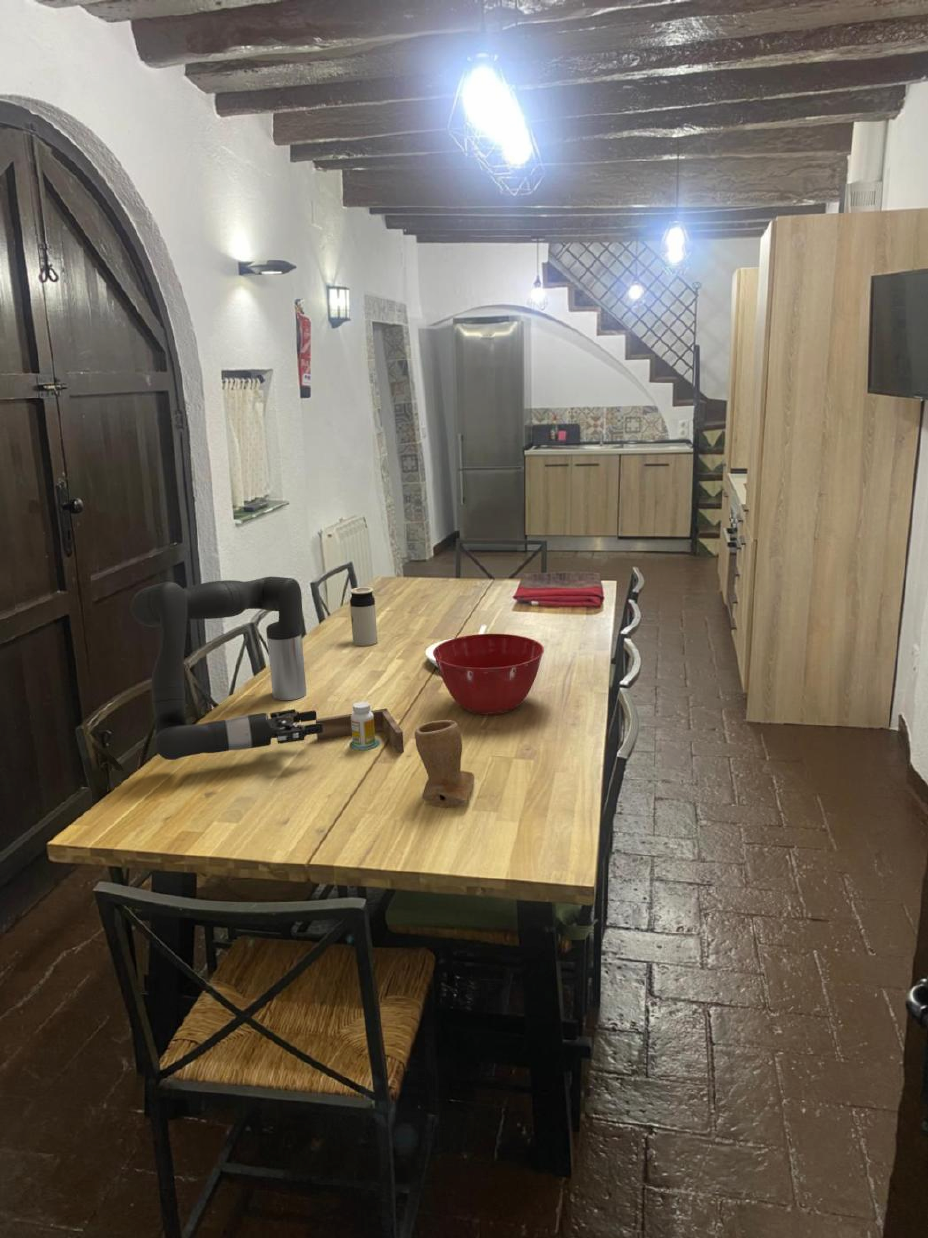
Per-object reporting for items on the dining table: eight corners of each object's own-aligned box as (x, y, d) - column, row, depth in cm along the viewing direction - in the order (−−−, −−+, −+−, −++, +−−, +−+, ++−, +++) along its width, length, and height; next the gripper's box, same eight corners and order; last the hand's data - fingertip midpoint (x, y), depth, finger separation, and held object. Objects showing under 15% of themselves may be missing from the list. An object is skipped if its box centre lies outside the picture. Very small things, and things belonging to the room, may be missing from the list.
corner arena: (317, 738, 217) (315, 719, 215) (387, 727, 222) (386, 708, 220) (328, 764, 202) (327, 743, 201) (403, 751, 207) (402, 731, 206)
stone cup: (424, 776, 194) (421, 711, 190) (479, 778, 192) (476, 713, 188) (408, 809, 180) (403, 739, 176) (466, 812, 178) (463, 742, 174)
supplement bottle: (376, 738, 215) (373, 700, 212) (374, 747, 210) (372, 708, 207) (353, 739, 215) (350, 701, 212) (351, 748, 209) (348, 709, 207)
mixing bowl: (537, 728, 218) (536, 668, 214) (424, 723, 223) (420, 664, 219) (550, 688, 244) (549, 634, 240) (448, 685, 250) (446, 632, 246)
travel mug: (379, 639, 296) (376, 586, 291) (374, 646, 289) (371, 592, 284) (356, 639, 297) (352, 586, 292) (350, 646, 289) (346, 592, 285)
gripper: (249, 727, 195) (323, 716, 200) (243, 706, 208) (312, 696, 213) (252, 759, 197) (325, 747, 202) (246, 736, 210) (315, 725, 215)
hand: (319, 721), depth 207 cm, fingers open, 8 cm apart
